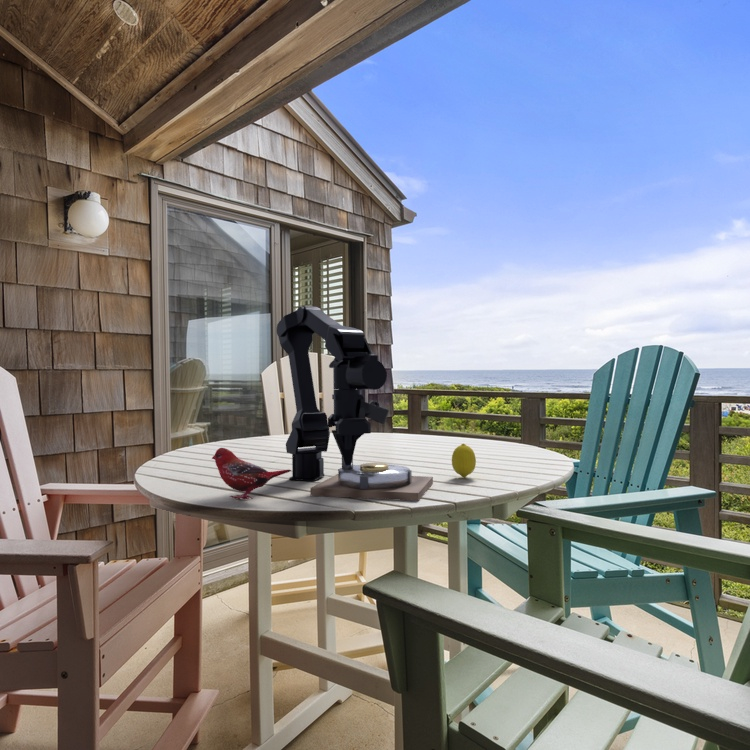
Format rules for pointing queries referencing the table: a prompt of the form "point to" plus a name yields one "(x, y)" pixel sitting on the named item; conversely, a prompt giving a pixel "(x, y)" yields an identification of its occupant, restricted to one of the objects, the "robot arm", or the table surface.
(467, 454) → the lemon
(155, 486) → the table surface
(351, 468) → the notched round platform
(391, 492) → the base plate
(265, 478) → the decorative bird figurine
